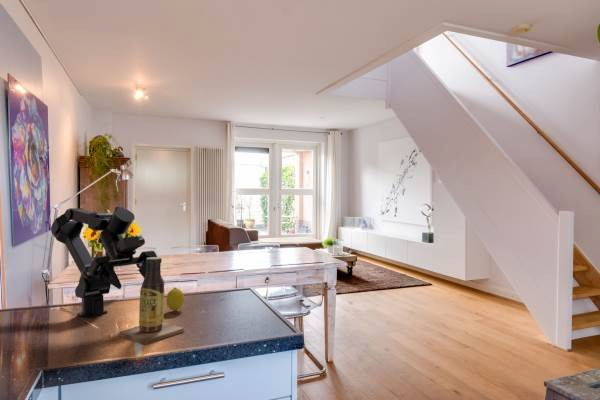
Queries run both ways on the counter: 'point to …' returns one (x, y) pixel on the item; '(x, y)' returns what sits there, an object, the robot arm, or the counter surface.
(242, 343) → the counter surface
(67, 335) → the counter surface
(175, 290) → the lemon
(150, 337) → the walnut board
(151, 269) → the sauce bottle
